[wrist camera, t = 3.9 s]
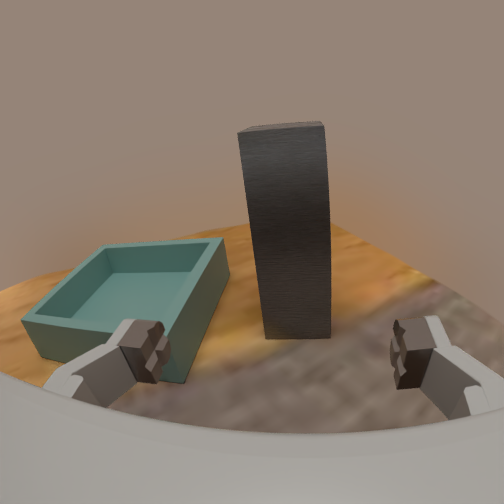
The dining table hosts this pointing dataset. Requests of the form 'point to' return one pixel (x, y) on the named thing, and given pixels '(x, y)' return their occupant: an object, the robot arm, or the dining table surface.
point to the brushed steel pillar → (290, 226)
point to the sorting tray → (134, 299)
